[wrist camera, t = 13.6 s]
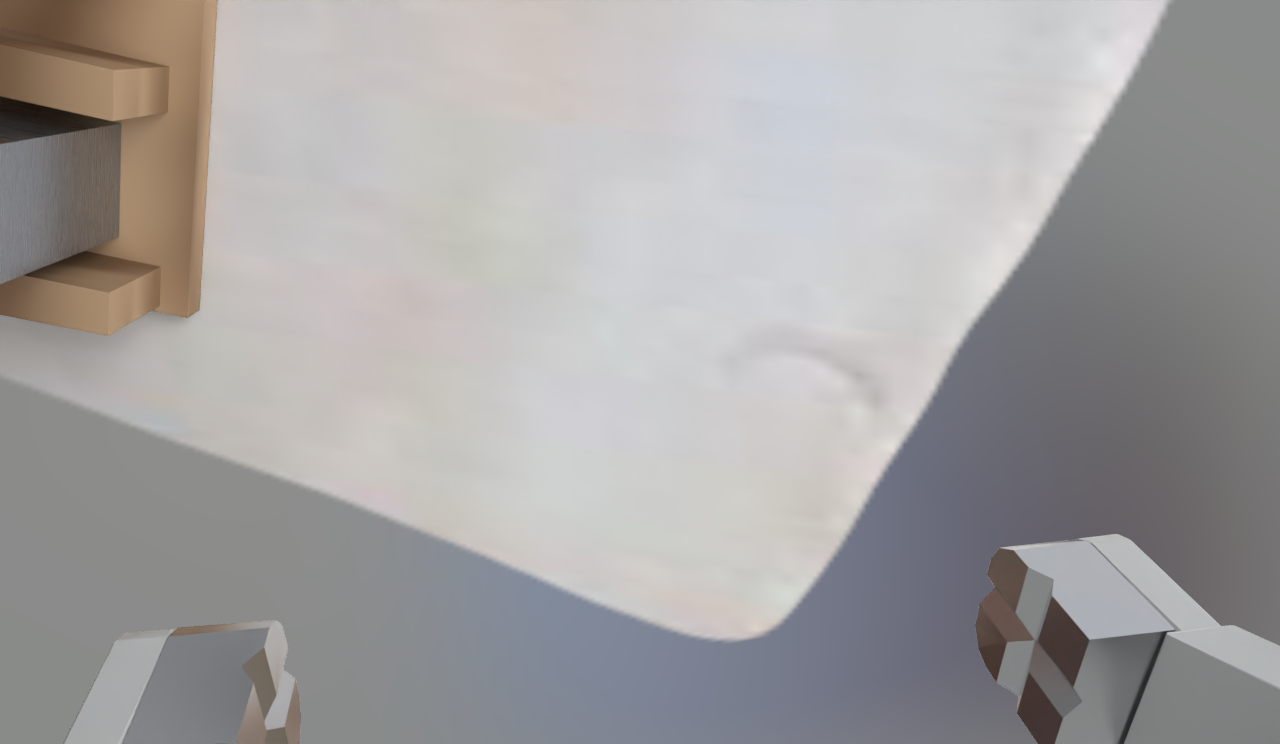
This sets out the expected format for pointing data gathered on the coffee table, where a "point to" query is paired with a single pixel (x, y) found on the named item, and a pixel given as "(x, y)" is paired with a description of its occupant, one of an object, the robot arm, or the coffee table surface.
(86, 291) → the twin post stand
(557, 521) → the coffee table surface
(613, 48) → the coffee table surface
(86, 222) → the grey block
